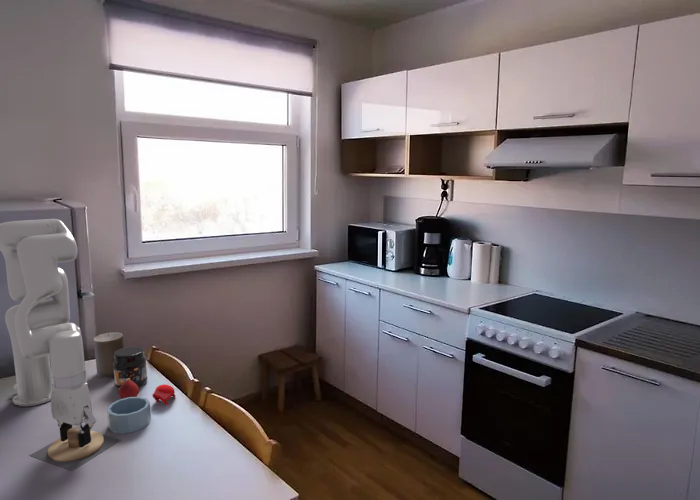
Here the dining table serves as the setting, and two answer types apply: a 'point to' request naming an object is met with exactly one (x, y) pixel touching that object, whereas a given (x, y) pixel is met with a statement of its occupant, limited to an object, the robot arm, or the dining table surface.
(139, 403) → the bowl
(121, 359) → the supplement container
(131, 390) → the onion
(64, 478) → the dining table surface
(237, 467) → the dining table surface
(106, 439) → the mat
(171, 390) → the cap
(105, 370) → the pillar candle
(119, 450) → the dining table surface
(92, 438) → the lid
